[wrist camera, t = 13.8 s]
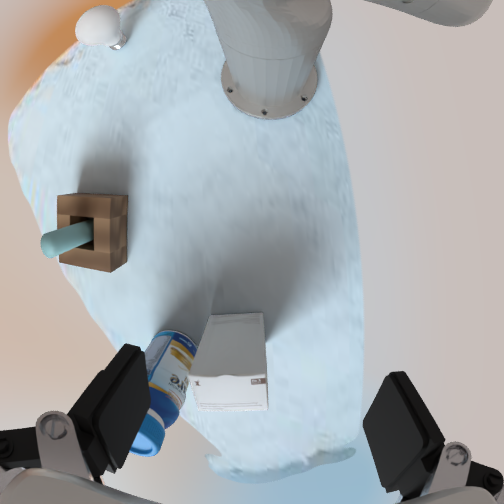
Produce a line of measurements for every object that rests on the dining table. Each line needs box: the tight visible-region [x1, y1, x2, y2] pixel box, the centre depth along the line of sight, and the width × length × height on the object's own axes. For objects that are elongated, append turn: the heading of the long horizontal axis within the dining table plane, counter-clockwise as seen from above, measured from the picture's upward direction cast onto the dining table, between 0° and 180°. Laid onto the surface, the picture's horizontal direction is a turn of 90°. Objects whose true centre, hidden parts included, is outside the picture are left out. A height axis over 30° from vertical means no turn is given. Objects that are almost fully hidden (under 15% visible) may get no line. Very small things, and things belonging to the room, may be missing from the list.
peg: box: [41, 218, 94, 258], centre depth 31 cm, size 3×3×12 cm
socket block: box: [57, 193, 128, 273], centre depth 35 cm, size 10×10×5 cm
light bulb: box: [75, 5, 126, 50], centre depth 24 cm, size 7×7×11 cm
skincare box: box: [188, 312, 268, 411], centre depth 33 cm, size 8×6×15 cm
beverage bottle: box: [129, 330, 197, 457], centre depth 32 cm, size 8×8×20 cm
